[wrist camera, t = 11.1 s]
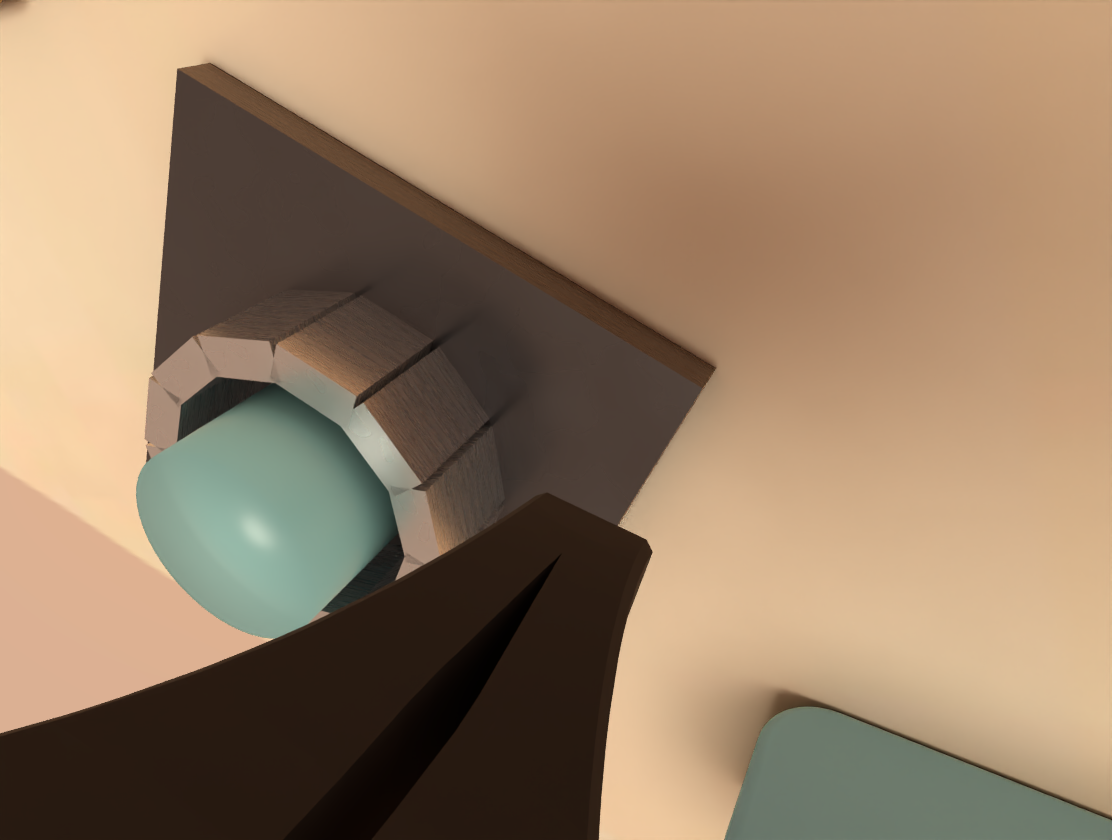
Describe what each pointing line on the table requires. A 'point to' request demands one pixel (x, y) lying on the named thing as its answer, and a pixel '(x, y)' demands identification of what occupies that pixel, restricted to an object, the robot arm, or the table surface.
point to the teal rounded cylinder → (265, 513)
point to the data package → (885, 790)
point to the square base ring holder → (394, 332)
